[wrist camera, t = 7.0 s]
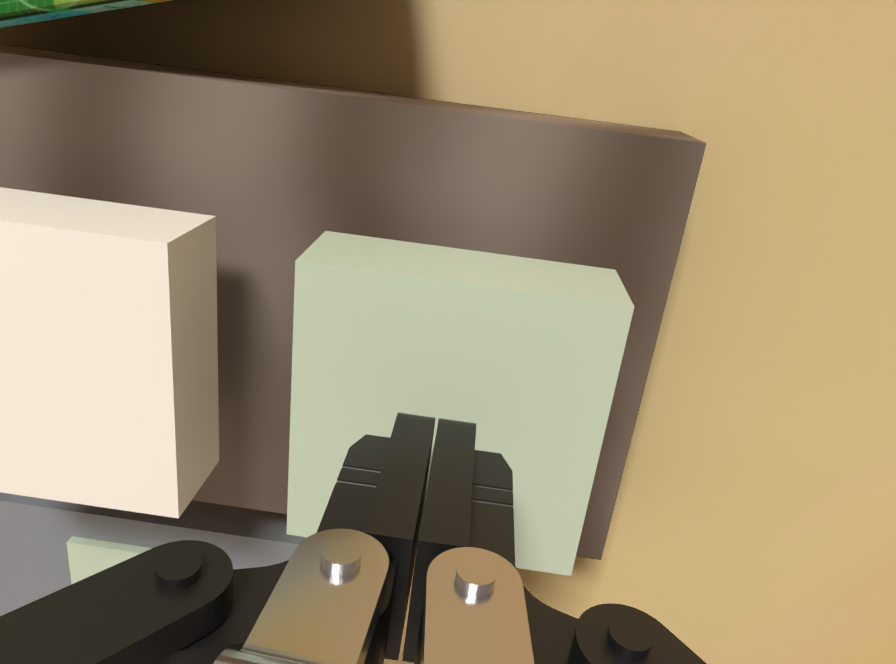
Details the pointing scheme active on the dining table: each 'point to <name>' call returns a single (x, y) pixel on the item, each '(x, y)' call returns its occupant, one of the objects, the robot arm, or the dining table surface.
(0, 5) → the puzzle game
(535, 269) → the key sage
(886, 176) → the dining table surface
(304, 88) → the keypad base
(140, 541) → the card
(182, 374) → the key cream
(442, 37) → the dining table surface
